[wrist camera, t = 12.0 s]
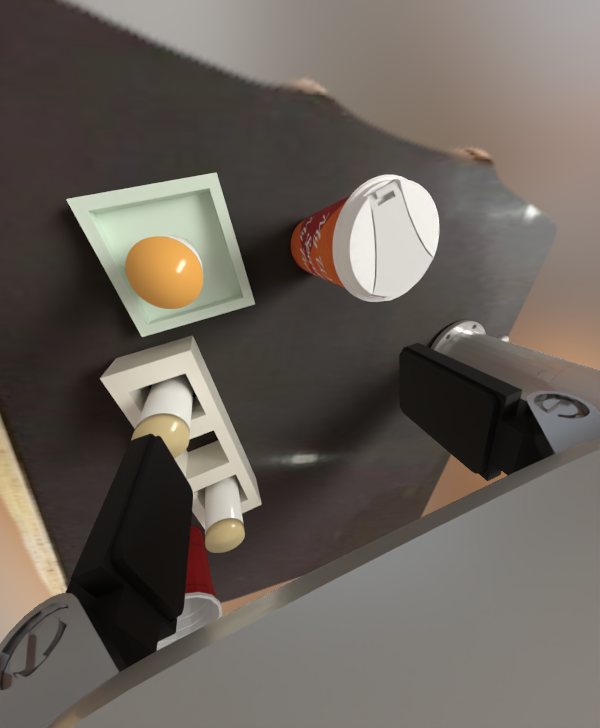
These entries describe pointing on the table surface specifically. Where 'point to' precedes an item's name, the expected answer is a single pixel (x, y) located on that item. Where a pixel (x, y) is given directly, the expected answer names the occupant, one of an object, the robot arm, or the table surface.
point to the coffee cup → (371, 239)
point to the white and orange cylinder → (165, 271)
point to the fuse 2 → (223, 516)
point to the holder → (208, 413)
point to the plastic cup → (196, 592)
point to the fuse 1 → (168, 413)
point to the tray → (168, 218)
